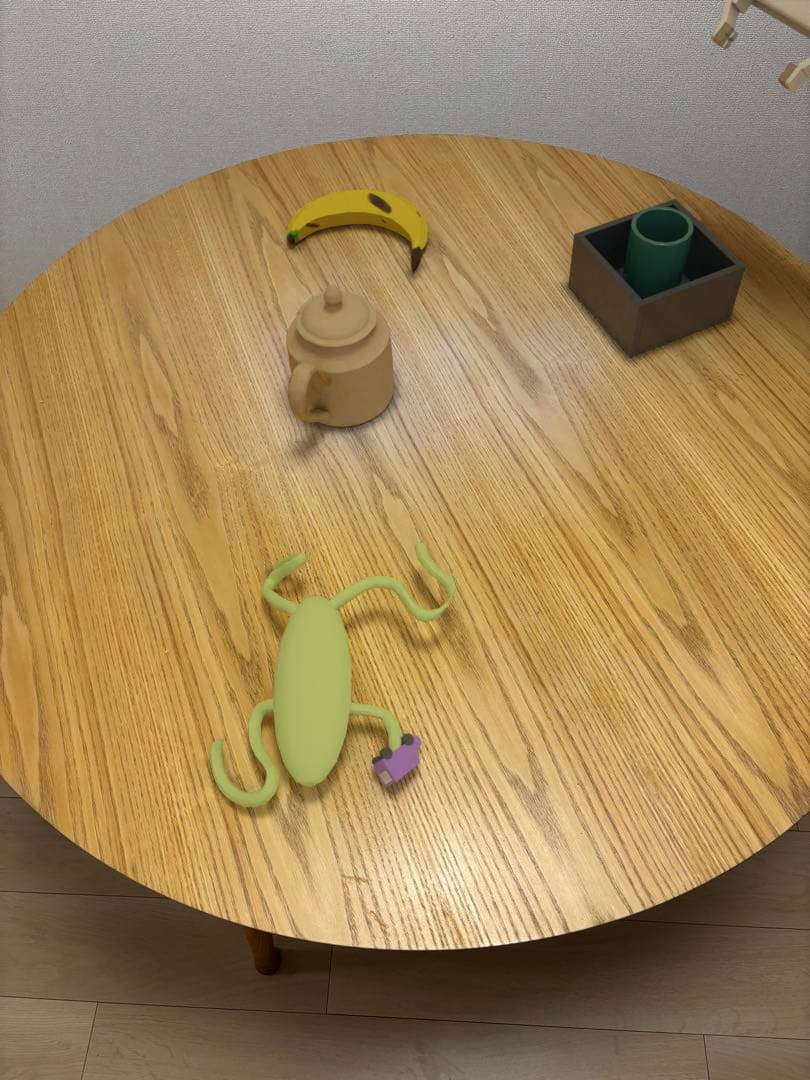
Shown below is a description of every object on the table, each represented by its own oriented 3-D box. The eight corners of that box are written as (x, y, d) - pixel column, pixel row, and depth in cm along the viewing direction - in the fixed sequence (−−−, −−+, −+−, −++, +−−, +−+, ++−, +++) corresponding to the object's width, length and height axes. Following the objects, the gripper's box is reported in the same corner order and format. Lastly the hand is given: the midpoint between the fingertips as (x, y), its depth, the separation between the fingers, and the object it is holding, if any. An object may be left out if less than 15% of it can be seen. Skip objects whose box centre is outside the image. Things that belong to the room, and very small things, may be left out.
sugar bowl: (401, 450, 106) (394, 347, 94) (297, 460, 106) (276, 357, 94) (390, 351, 115) (383, 244, 102) (295, 360, 114) (275, 254, 102)
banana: (275, 194, 125) (299, 285, 119) (408, 163, 126) (439, 251, 120) (281, 221, 129) (305, 309, 123) (410, 189, 130) (440, 276, 124)
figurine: (464, 572, 97) (464, 539, 92) (412, 841, 82) (410, 817, 77) (280, 547, 99) (272, 513, 95) (198, 802, 84) (183, 777, 80)
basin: (664, 251, 123) (675, 198, 116) (730, 318, 115) (746, 266, 109) (567, 286, 120) (574, 233, 113) (629, 357, 112) (639, 306, 106)
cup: (666, 274, 119) (682, 203, 111) (683, 311, 115) (701, 240, 107) (612, 281, 119) (624, 210, 111) (628, 319, 115) (641, 248, 107)
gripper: (765, -132, 94) (666, 4, 100) (936, -50, 84) (815, 98, 89) (788, -93, 99) (693, 34, 104) (952, -11, 89) (837, 127, 94)
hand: (750, 64), depth 97 cm, fingers open, 8 cm apart
